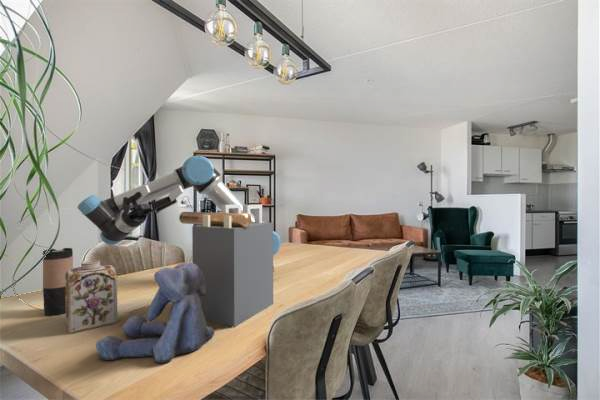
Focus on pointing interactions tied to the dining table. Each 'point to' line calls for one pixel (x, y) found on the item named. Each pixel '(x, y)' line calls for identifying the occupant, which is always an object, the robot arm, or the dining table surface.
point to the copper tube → (216, 218)
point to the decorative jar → (90, 296)
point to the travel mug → (55, 280)
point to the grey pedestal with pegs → (234, 266)
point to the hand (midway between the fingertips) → (165, 188)
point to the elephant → (160, 335)
